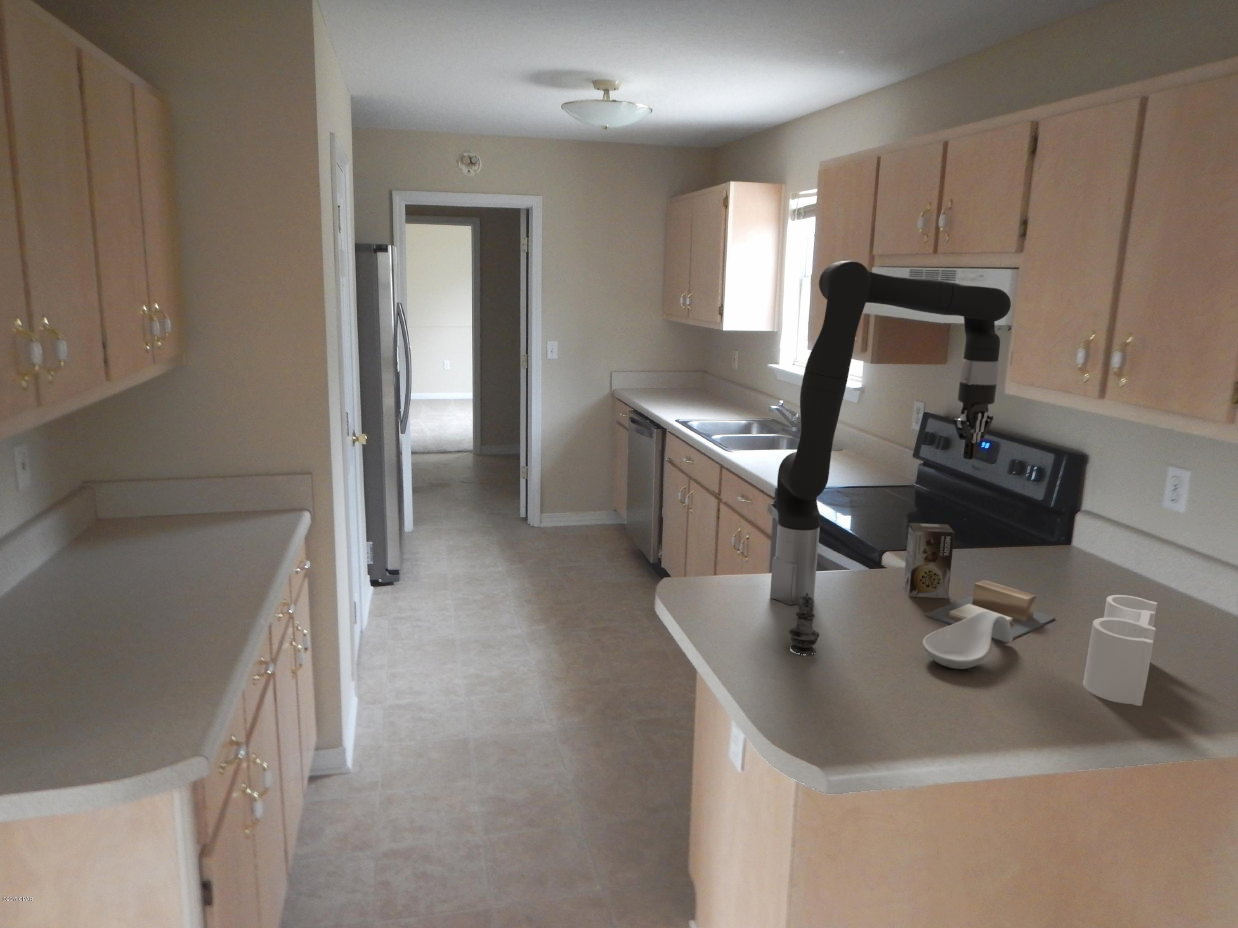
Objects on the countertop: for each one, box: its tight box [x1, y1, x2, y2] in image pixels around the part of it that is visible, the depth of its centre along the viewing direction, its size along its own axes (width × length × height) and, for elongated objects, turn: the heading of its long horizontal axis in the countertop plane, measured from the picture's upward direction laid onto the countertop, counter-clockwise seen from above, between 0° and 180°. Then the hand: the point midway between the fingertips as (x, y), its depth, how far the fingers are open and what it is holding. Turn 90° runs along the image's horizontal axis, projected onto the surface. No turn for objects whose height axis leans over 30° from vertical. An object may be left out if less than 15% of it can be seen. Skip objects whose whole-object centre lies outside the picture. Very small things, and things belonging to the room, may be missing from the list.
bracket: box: [1082, 594, 1158, 707], centre depth 166 cm, size 25×10×12 cm, turn 146°
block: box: [972, 579, 1037, 621], centre depth 196 cm, size 4×12×5 cm, turn 39°
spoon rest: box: [922, 611, 1013, 670], centre depth 173 cm, size 24×12×7 cm, turn 130°
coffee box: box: [902, 522, 955, 599], centre depth 206 cm, size 9×6×16 cm
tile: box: [949, 604, 1013, 624], centre depth 191 cm, size 4×10×8 cm
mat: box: [924, 595, 1056, 644], centre depth 194 cm, size 22×18×1 cm
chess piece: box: [788, 593, 820, 656], centre depth 173 cm, size 6×6×12 cm
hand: (969, 458), depth 197 cm, fingers closed
